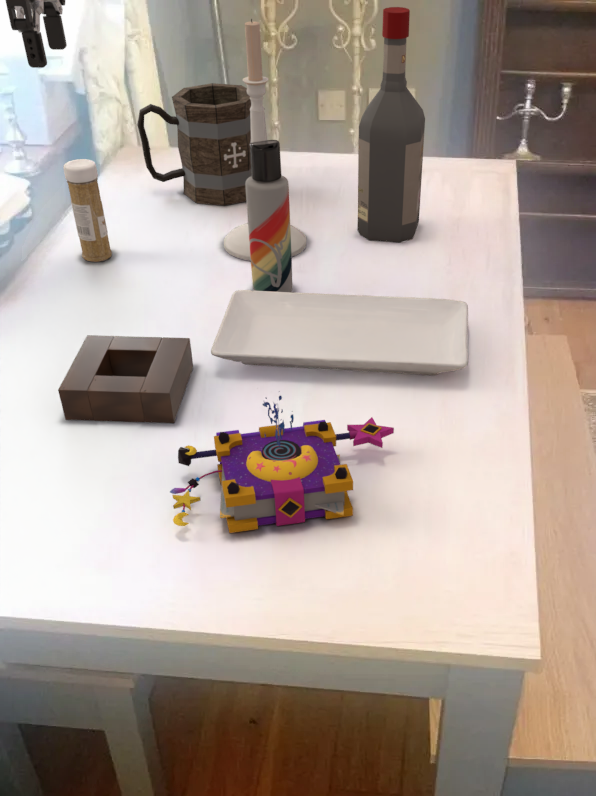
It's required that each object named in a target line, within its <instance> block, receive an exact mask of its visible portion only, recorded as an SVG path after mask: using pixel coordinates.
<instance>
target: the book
mask: <svg viewBox="0 0 596 796" xmlns="http://www.w3.org/2000/svg"><path fill="white" fill-rule="evenodd" d="M279 392H280V390H279V391H278V393H279ZM267 398H268V397H265V400H267ZM282 398H283V397H282V395H279V396H278V401H281V400H282ZM272 403H273V409H272V408H271V404H270V402H268V401H263V403H262V406H263V407H264V408H267V416H268V418H269V420H270V424H271V425H266V426H258V431H254V432H253V431H252V432H245V433H241V432H240V430H239V429H235V430H234V429H233V430H226V431H217V432H216V433H215V436H213V442H214V443H213V444H214V449H209V450H201V451H198V449H197V448H196V447H195V446H193V445H188V444H187V445H186V446H184V447H183V446H180V447H179V448H178V449H177V461H178V462H177V463H178V464H180V465H183V466H187V467H190V466H191V464H192V460H196V459H202V458H204V459H205V458H211V457H216V459H217V462H218V463H217V464H216V466H217V470H213V471H210V472H208V473H204V474H203V475H202V476H199V477H198V476H196V477H195V478H191V479H189V480H188V481H187V484H188V485H187V486H186V487H185V488H184V487H173V488H172V489H171V490H170V491H169V493H171V494H172V499H173V500H175V501H176V502H175V503H174V504H173V505H172V506H173V510H175V509H178V508H181V507H182V509H181V511H180V512H178V513H177V514H175V515H174V516H173V519H172V521H173V524H174V525H176V526H178V527H186V526H188V525H189V523H190V522H186V521H184V520H183V519H184V518H186V517H187V516H189V515H190V514H189V513H188V512H186V510H185V509H186V508H187V509H188V510H190V511H192V505H191V504H194V503H198V502H200V501H201V496H191V495H190V493H192V489H195V488H197V487H198V486H199V485H200V484H199V481H200V480H201V479H203V478H204V477H206V476H209V475H213V474H216V473H218V479H219V483H220V487H221V488H220V508H219V519H225V518H226V519H225V520H226V523H227V528H228V534H232V533H239V532H247V531H253V530H259V526H265V525H272V524H275V526H276V527H280V526H286V525H293V524H301V523H305V522H306V520H307V519H314V518H323V517H325V520H330V519H331V520H332V519H338V518H346V517H353V516H354V507H353V505H352V502H351V499H350V496H349V494H348V492H349V491H354V479H353V477H352V474H351V471H350V469H349V466H348V464H347V463H344V464H341V455H340V454H338V453H336V449H335V447H337V441H344V440H350V441H351V440H353V441H352V447H357V446H361V445H364V444H370V445H373V446H375V447H378V448H381V449H383V447H384V444H383V443H384V442H383V438H386V437H387V436H390V435H393V434H394V433H395V427H394V426H385V425H377V423H376V422H375V419H374V418H373V416H371V417H370V418H369V419H368V420H366V421H365V423H363V424H347V425H346V431H348V432H341V433H336V432H335V430H334V427H333V425H332V422H330V421H329V422H328V421H326V420H325V419H320V420H313V421H303V423H302V425H301V426H293V423H294V419H295V416H294V414H291V415H290V417H289V418H290V421H289V424H290V427H285V426H286V425H285V421H284V419H282V418H280V419H279V411H280V407H279V403H278V402H277V403H275V402H274V401H272ZM276 407H277V408H276ZM270 411H271V414H272V415H274V416H273V417H271V416H270ZM283 412H284V411H283V409H281V412H280V414H283ZM291 412H293V410H292V411H291ZM280 421H282V422H281V423H280ZM273 423H274V425H273ZM183 493H184V494H183ZM180 494H182V495H180Z"/></svg>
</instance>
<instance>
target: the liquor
mask: <svg viewBox="0 0 596 796" xmlns="http://www.w3.org/2000/svg"><path fill="white" fill-rule="evenodd" d="M410 12H411V11H410V9H409V8H407V7H403V6H389V7H385V8H383V9H382V30H381V31H382V33H381V35H382V38H383V56H382V57H383V60H382V80H381V83H380V89H379V90H378V91H377V93H376V94H375V95H374V97H373V98H372V99H371V101H370V102H369V103H368V105H367V106H366V108H365V109H364V111H363V114H362V116H361V118H360V121H359V124H358V149H357V151H358V152H357V153H358V157H357V159H358V160H357V161H358V163H357V164H358V165H357V228H356V229H357V232H358V234H359V236H361V237H362V238H364V239H366V240H368V241H370V242H382V243H383V242H385V243H397V244H401V243H404V242H407V241H410V240H413V239H414V237H415V236H416V233H417V231H418V230H417V229H418V226H419V222H420V214H421V213H420V210H421V196H422V195H421V193H422V179H423V178H422V177H423V163H424V162H423V161H424V143H425V128H426V116H425V113H424V109H423V108H422V106H421V105H420V104H419V103H418V101H417V99H416V98H415V97H414V95H413V94H412V92H411V91H410V90H409V89H408V86H407V85H408V84H407V83H408V80H407V78H406V66H407V65H406V64H407V38H409V37H410V17H411V14H410Z"/></svg>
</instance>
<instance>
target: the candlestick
mask: <svg viewBox="0 0 596 796" xmlns="http://www.w3.org/2000/svg"><path fill="white" fill-rule="evenodd" d="M244 33H245V49H246V62H247V63H246V64H247V66H246V67H247V76H245V77H243V78H242V82H243V83H244V84H245V85H246V88H247V94H248V95H249V96H250V100H251V108H250V119H251V143H253V142H260V141H266V140H268V133H267V123H266V113H265V110H266V109H265V107H264V103H263V101H264V95H265V94H266V92H267V90H266V84H267V83H268V82H269V77H267V76H263V60H262V42H261V41H262V40H261V23H260V22H259V21H253V18H251V19H250V21H246V22H244ZM290 230H291V255H292V258H293V257H295V256H297V255H298V254H300V253H302V252H303V251H304V250H305V249H306V247H307V236H306V235H305V233H304V232H303V231H302V230H300V229H299V228H298V227H296V226H295V225H292V224H290ZM223 247H224V250H225V252H227V254H229V256H233V257H235V258H237V259H239V260H244V261H249V262H251V257H250V243H249V229H248V222H246V223H245V222H244V223H243V224H241V225H238V226H236V227H235V228H233V229H231V230H230V231H229V232H228V233H227V235H225V237H224V239H223Z"/></svg>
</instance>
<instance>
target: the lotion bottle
mask: <svg viewBox="0 0 596 796" xmlns="http://www.w3.org/2000/svg"><path fill="white" fill-rule="evenodd" d="M280 144H281V143H280V141H279V140H278V139H267V140H266V141H260V142H253V143H250V157H251V175H252V176H251V177H249V178H248V179H247V180H246V183H245V186H246V201H245V202H246V213H247V223H248V229H249V243H250V257H251V261H250V269H251V282H252V283H251V284H252V290H253V291H272V292H292V291H293V286H294V285H293V259H292V258H293V257H292V255H291V230H290V225H291V208H290V206H291V205H290V186H289V179H288V178H287V177H286V176H284V175H283V174H282V161H281V158H282V157H281V145H280Z"/></svg>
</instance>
